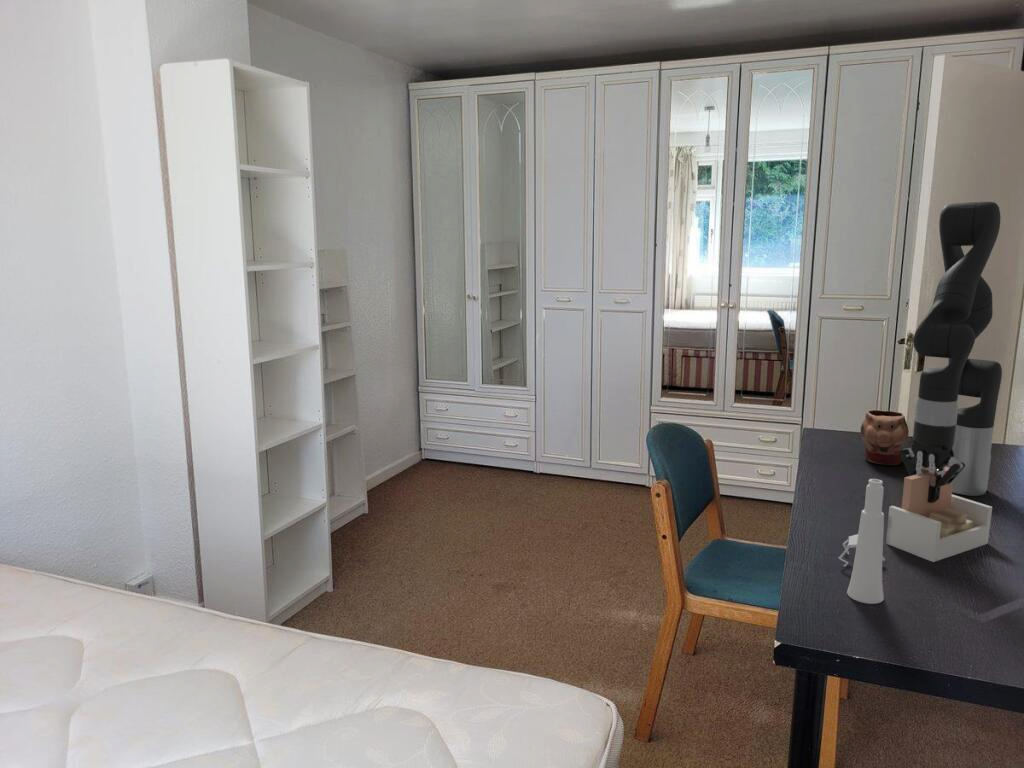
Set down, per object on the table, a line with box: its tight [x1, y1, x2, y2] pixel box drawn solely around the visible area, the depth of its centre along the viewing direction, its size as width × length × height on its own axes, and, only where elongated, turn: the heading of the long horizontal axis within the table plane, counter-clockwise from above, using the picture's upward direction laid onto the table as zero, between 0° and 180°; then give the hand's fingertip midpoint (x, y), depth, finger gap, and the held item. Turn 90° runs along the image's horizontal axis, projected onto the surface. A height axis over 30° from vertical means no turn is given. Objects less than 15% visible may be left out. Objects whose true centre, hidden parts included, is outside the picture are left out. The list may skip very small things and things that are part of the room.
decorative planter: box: [860, 409, 910, 466], centre depth 217 cm, size 20×12×14 cm, turn 161°
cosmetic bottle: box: [846, 478, 885, 605], centre depth 137 cm, size 6×6×22 cm
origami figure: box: [837, 533, 886, 568], centre depth 153 cm, size 12×8×5 cm
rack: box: [885, 494, 993, 563], centre depth 158 cm, size 18×10×9 cm, turn 118°
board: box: [901, 466, 953, 518], centre depth 160 cm, size 14×2×14 cm, turn 118°
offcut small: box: [929, 508, 967, 529], centre depth 156 cm, size 6×4×2 cm, turn 118°
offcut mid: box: [940, 519, 973, 539], centre depth 157 cm, size 9×4×2 cm, turn 118°
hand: (926, 500), depth 160 cm, fingers closed on board, 1 cm apart
